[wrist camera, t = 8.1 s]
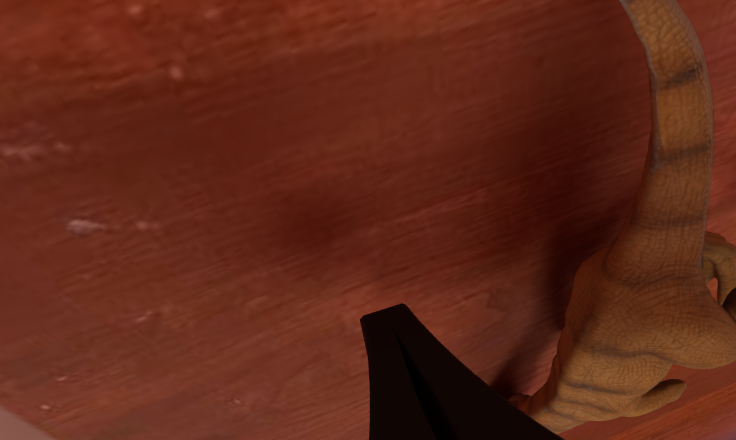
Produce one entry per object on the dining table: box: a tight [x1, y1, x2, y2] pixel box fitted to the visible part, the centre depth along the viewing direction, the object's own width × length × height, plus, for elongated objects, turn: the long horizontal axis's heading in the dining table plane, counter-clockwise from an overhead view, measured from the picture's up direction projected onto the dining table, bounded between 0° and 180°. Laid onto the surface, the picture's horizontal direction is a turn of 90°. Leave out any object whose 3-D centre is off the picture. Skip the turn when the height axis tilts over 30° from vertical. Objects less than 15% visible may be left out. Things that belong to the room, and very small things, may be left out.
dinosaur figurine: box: [508, 0, 736, 434], centre depth 12 cm, size 7×22×12 cm
